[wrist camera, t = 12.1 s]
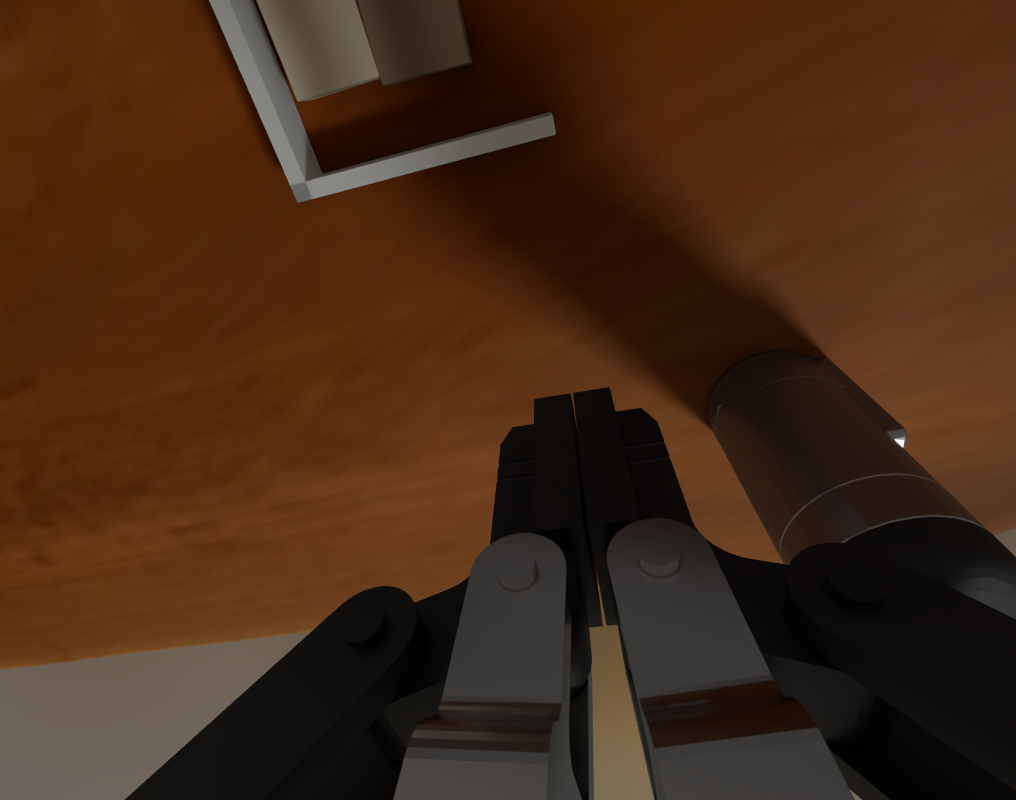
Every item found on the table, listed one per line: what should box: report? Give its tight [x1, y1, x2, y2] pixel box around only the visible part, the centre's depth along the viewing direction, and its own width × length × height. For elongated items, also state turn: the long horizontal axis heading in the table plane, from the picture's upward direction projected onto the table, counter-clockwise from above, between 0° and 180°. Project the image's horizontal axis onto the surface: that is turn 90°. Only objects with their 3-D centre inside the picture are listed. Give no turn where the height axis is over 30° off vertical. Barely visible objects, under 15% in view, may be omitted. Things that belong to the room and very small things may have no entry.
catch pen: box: [209, 0, 556, 203], centre depth 27 cm, size 16×14×3 cm
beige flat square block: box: [357, 0, 473, 85], centre depth 27 cm, size 5×5×2 cm
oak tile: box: [257, 0, 381, 101], centre depth 28 cm, size 5×5×2 cm
